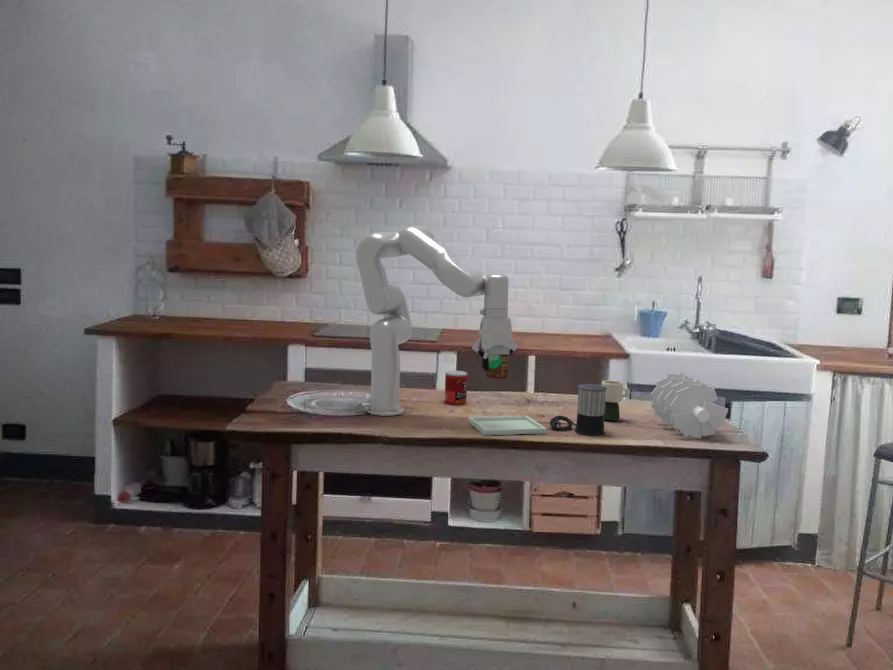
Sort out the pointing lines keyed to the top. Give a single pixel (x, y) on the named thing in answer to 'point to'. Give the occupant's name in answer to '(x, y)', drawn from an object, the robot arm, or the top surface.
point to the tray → (506, 425)
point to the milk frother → (587, 411)
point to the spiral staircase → (687, 405)
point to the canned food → (455, 387)
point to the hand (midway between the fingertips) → (494, 369)
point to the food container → (497, 362)
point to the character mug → (613, 398)
